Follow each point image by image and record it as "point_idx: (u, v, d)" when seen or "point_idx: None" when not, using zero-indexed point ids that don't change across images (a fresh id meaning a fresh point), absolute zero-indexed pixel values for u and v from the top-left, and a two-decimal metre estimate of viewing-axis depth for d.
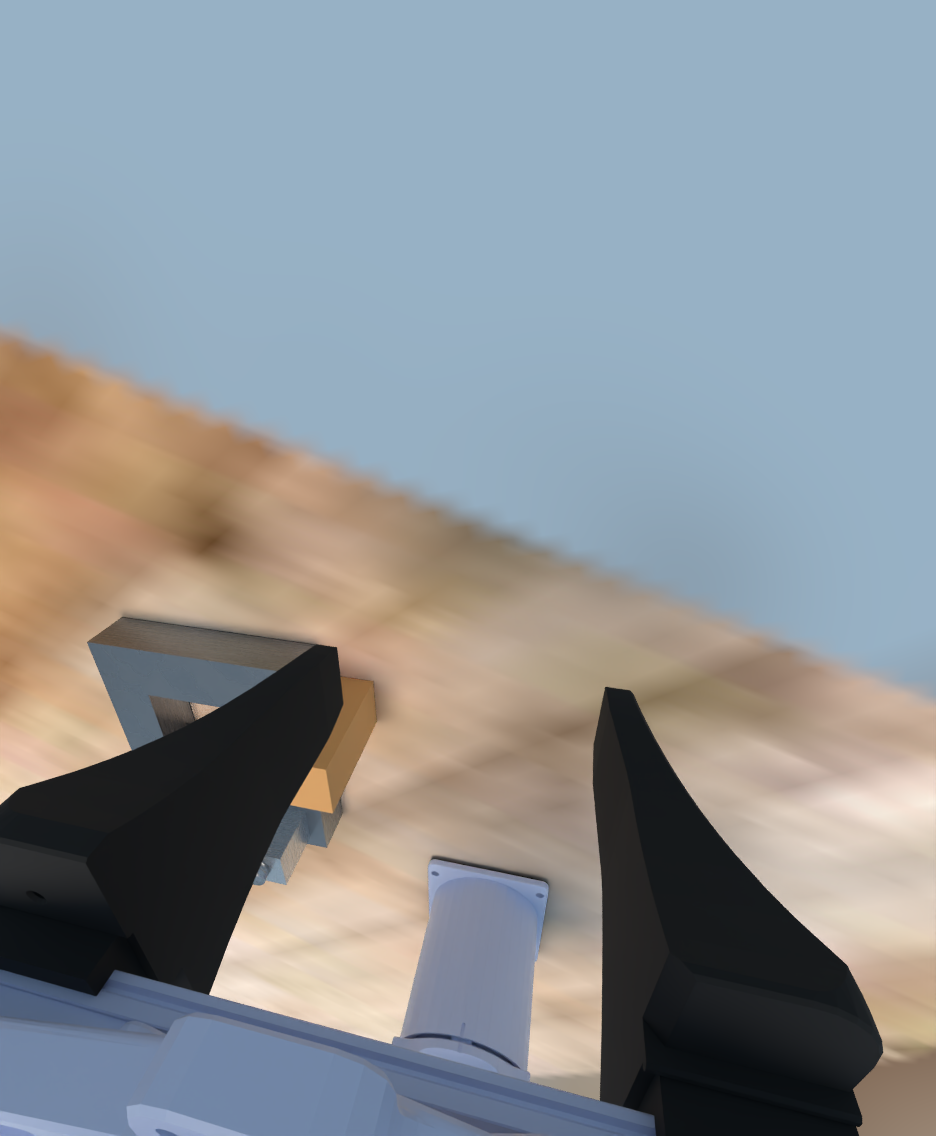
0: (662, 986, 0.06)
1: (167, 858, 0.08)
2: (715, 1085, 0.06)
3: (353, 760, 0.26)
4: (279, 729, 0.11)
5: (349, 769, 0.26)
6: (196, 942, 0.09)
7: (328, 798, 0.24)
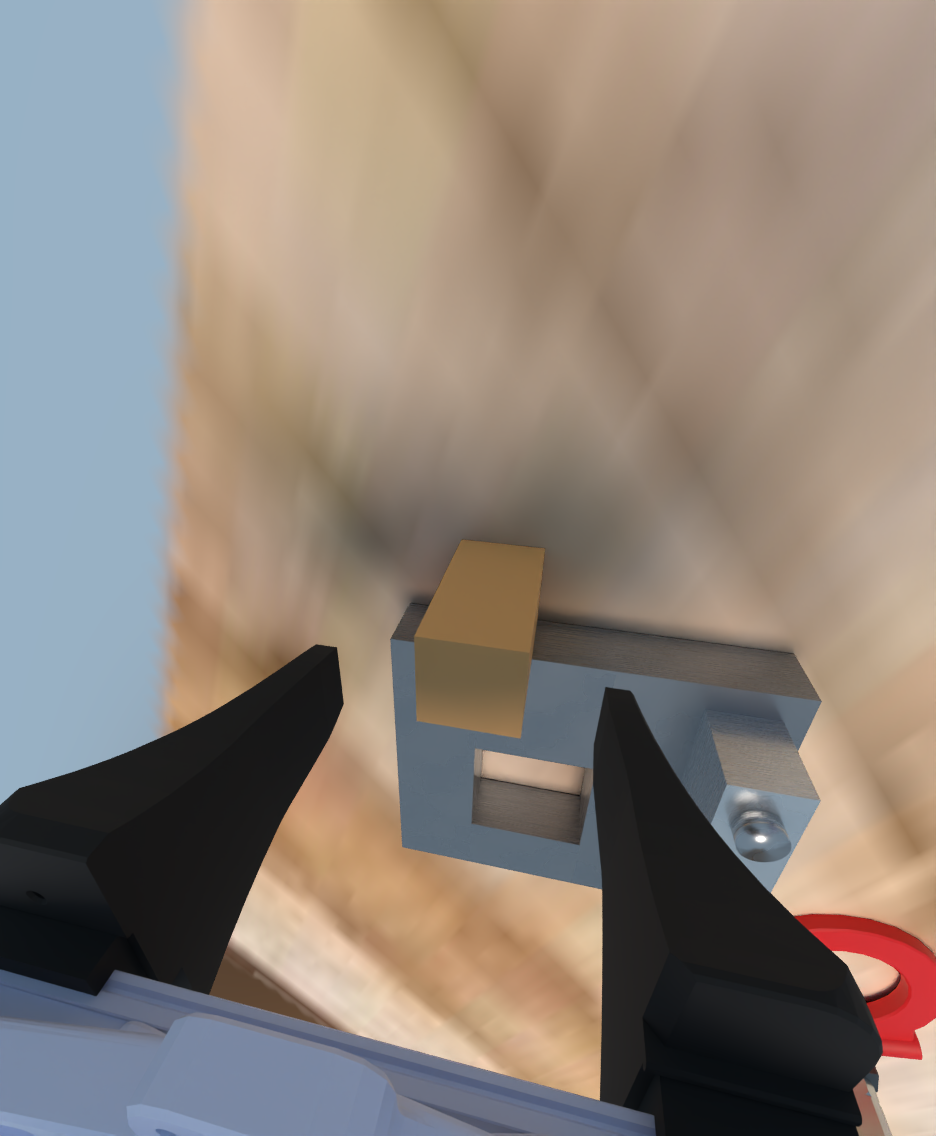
0: (662, 986, 0.06)
1: (167, 858, 0.08)
2: (715, 1085, 0.06)
3: (518, 594, 0.15)
4: (279, 729, 0.11)
5: (515, 605, 0.15)
6: (196, 942, 0.09)
7: (488, 650, 0.13)
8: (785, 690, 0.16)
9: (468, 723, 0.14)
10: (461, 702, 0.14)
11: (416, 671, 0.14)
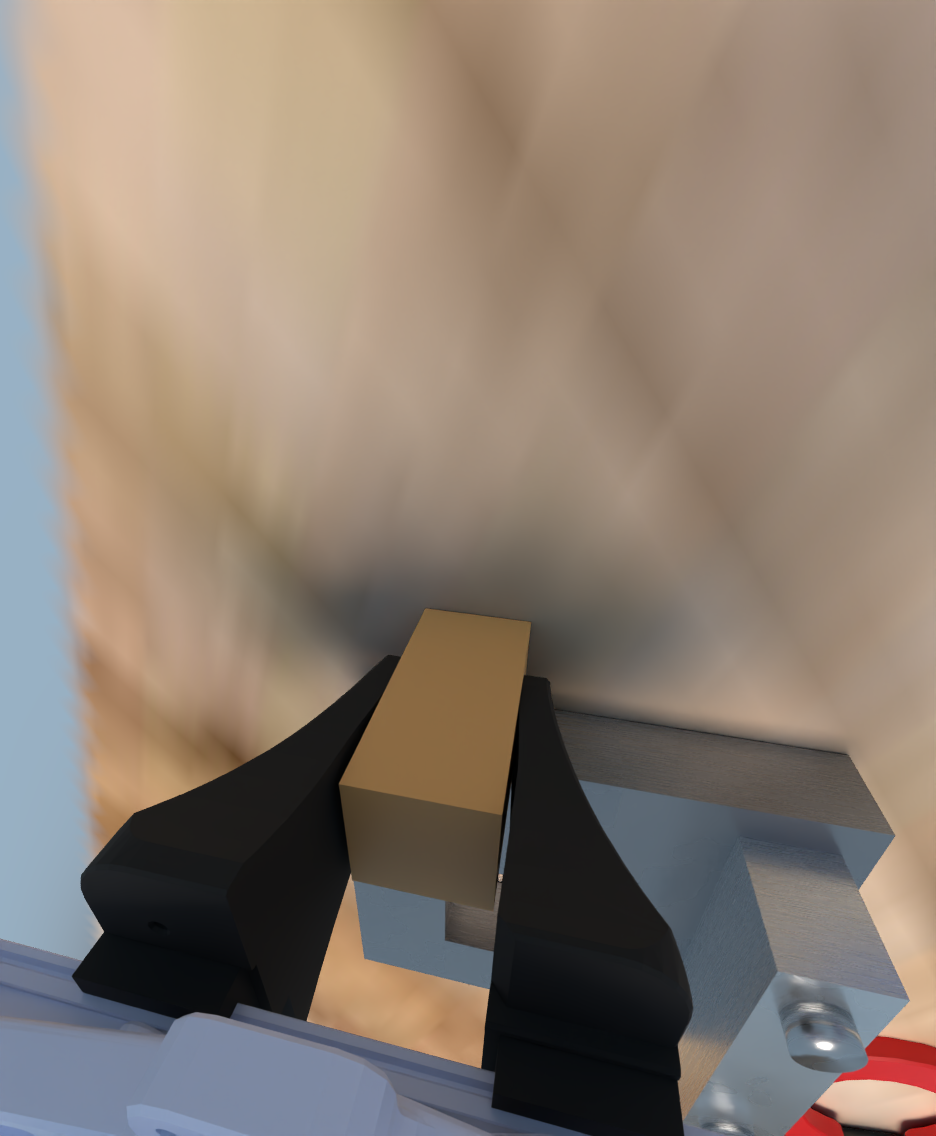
0: (498, 948, 0.07)
1: (283, 884, 0.08)
2: (548, 1042, 0.07)
3: (492, 702, 0.11)
4: None
5: (487, 722, 0.11)
6: (300, 968, 0.09)
7: (444, 808, 0.09)
8: (845, 817, 0.12)
9: (421, 889, 0.10)
10: (409, 865, 0.10)
11: (346, 825, 0.10)
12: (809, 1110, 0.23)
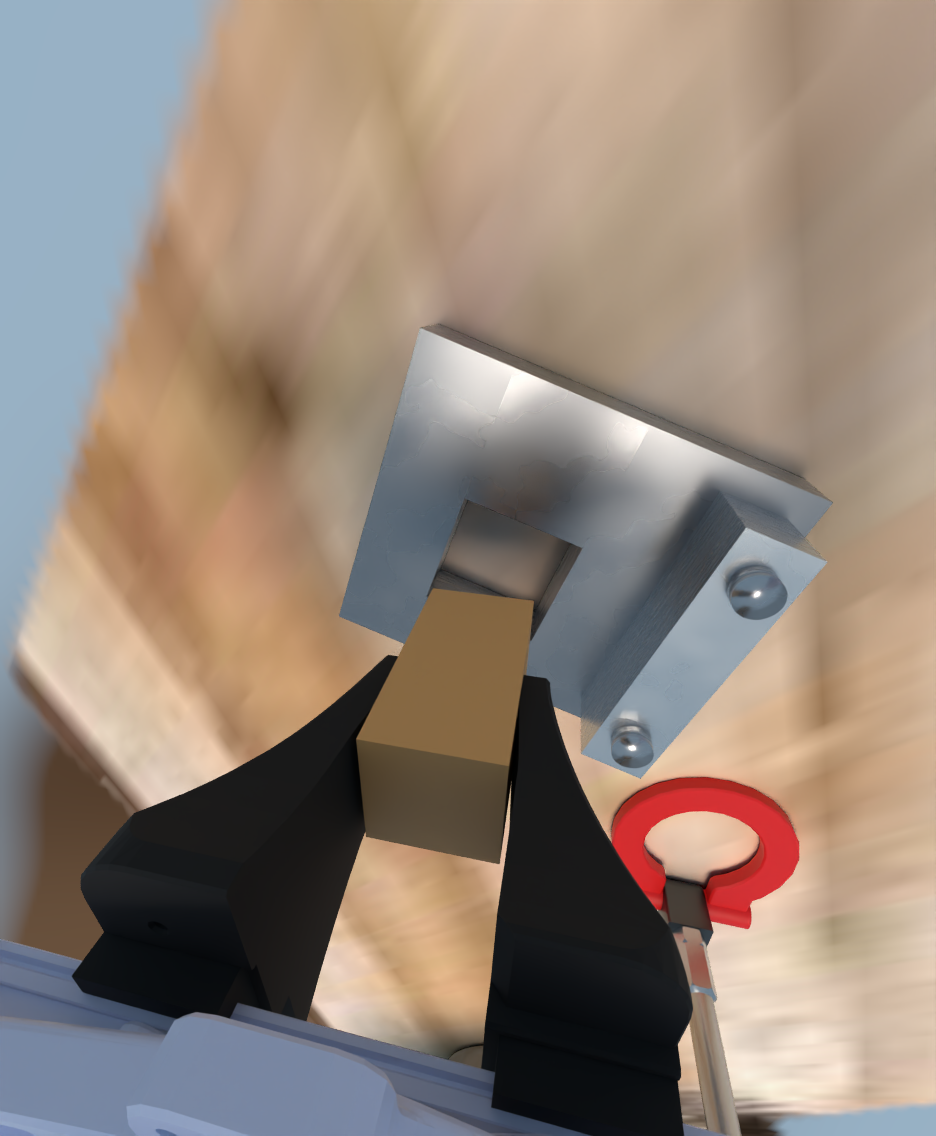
0: (498, 948, 0.07)
1: (283, 884, 0.08)
2: (547, 1042, 0.07)
3: (498, 670, 0.12)
4: None
5: (494, 686, 0.11)
6: (300, 968, 0.09)
7: (454, 760, 0.10)
8: (801, 487, 0.16)
9: (431, 843, 0.11)
10: (421, 819, 0.11)
11: (362, 781, 0.11)
12: (646, 852, 0.28)
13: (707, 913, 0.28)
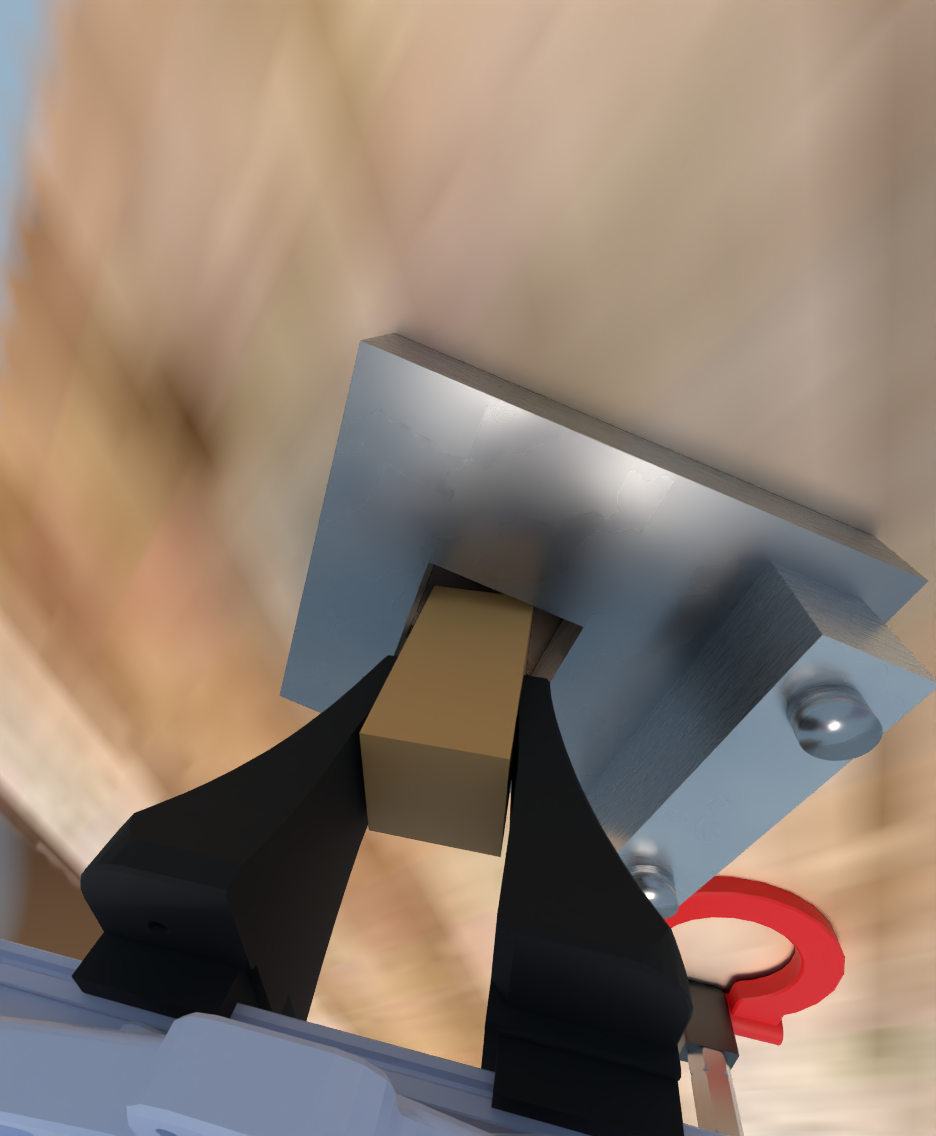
0: (498, 948, 0.07)
1: (283, 884, 0.08)
2: (547, 1042, 0.07)
3: (499, 666, 0.12)
4: None
5: (494, 681, 0.12)
6: (299, 968, 0.09)
7: (456, 753, 0.10)
8: (883, 558, 0.12)
9: (433, 836, 0.11)
10: (423, 812, 0.11)
11: (365, 774, 0.11)
12: None
13: (731, 1029, 0.23)
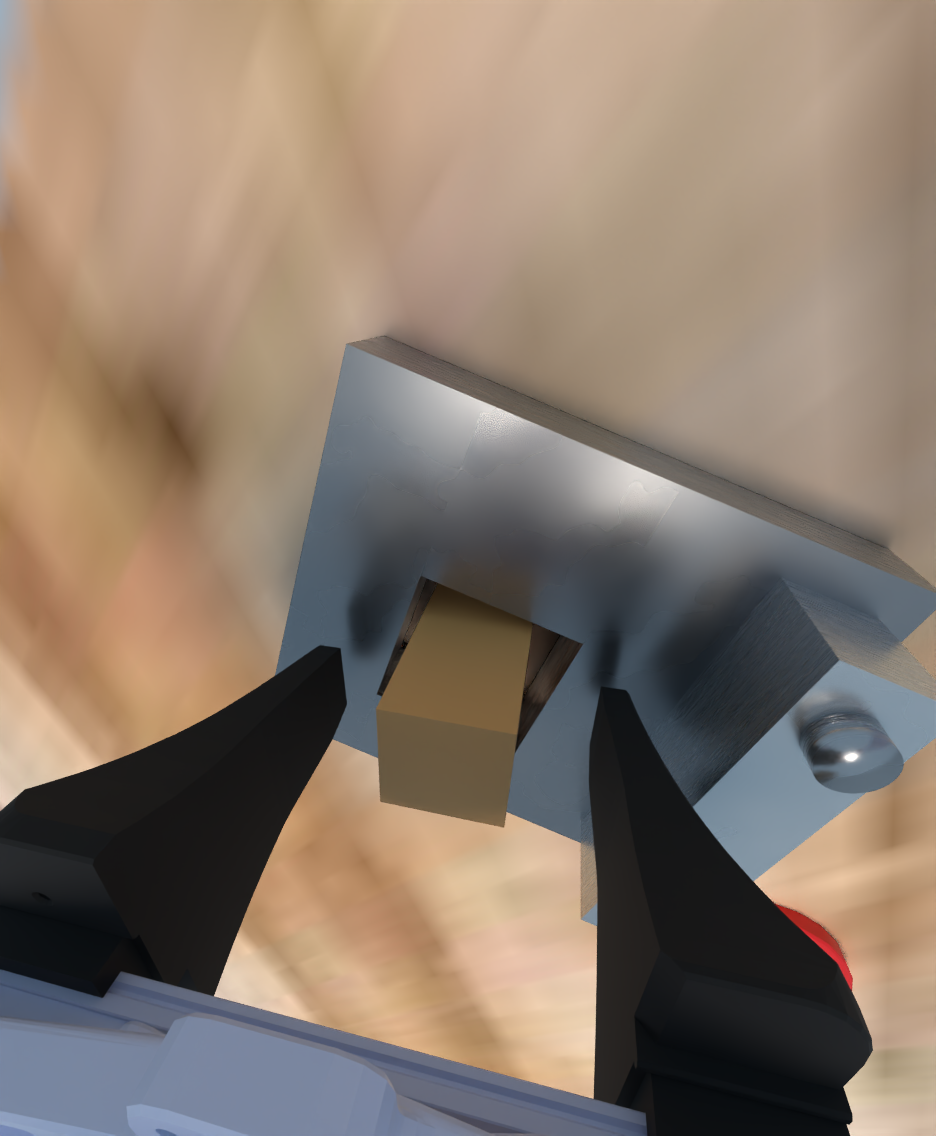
0: (653, 983, 0.06)
1: (173, 859, 0.08)
2: (706, 1083, 0.06)
3: (505, 650, 0.13)
4: (283, 730, 0.11)
5: (502, 665, 0.12)
6: (201, 943, 0.09)
7: (467, 729, 0.11)
8: (900, 574, 0.11)
9: (442, 808, 0.12)
10: (433, 784, 0.12)
11: (379, 748, 0.11)
12: None
13: None
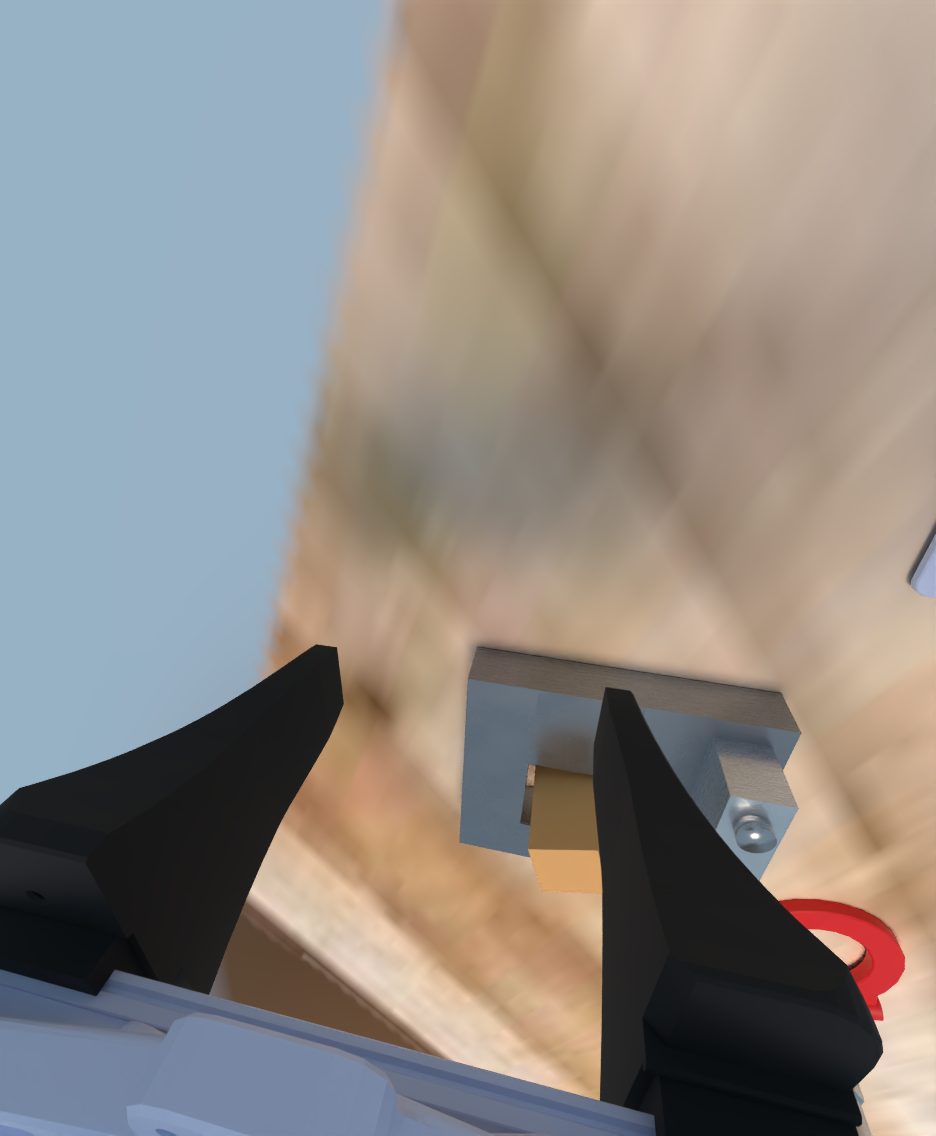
0: (662, 986, 0.06)
1: (167, 858, 0.08)
2: (715, 1086, 0.06)
3: (584, 796, 0.24)
4: (279, 729, 0.11)
5: (583, 807, 0.23)
6: (196, 942, 0.09)
7: (573, 851, 0.22)
8: (774, 724, 0.21)
9: (573, 889, 0.23)
10: (565, 878, 0.23)
11: (534, 866, 0.23)
12: None
13: None
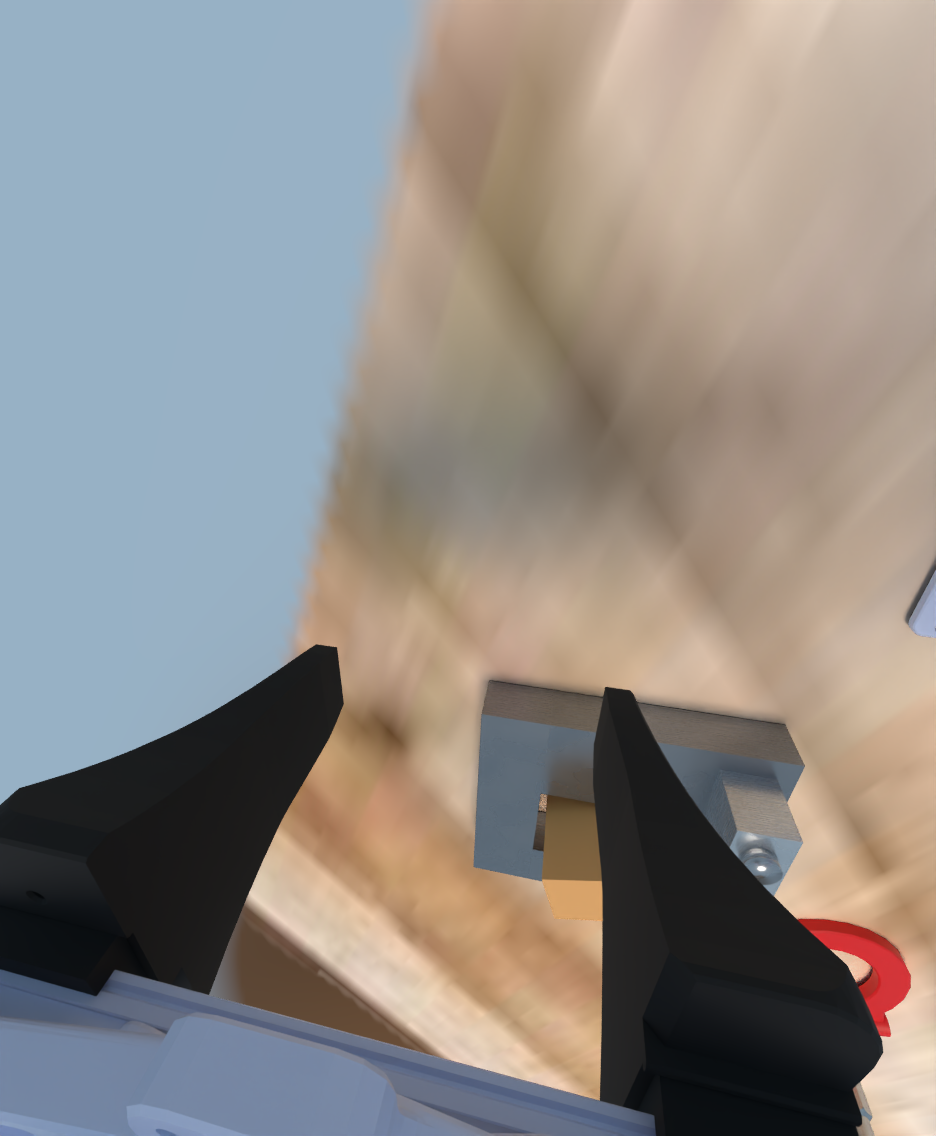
0: (662, 986, 0.06)
1: (167, 858, 0.08)
2: (715, 1085, 0.06)
3: (595, 825, 0.25)
4: (279, 729, 0.11)
5: (594, 836, 0.24)
6: (196, 942, 0.09)
7: (585, 882, 0.23)
8: (778, 757, 0.22)
9: (585, 917, 0.24)
10: (577, 907, 0.24)
11: (547, 895, 0.24)
12: None
13: None
